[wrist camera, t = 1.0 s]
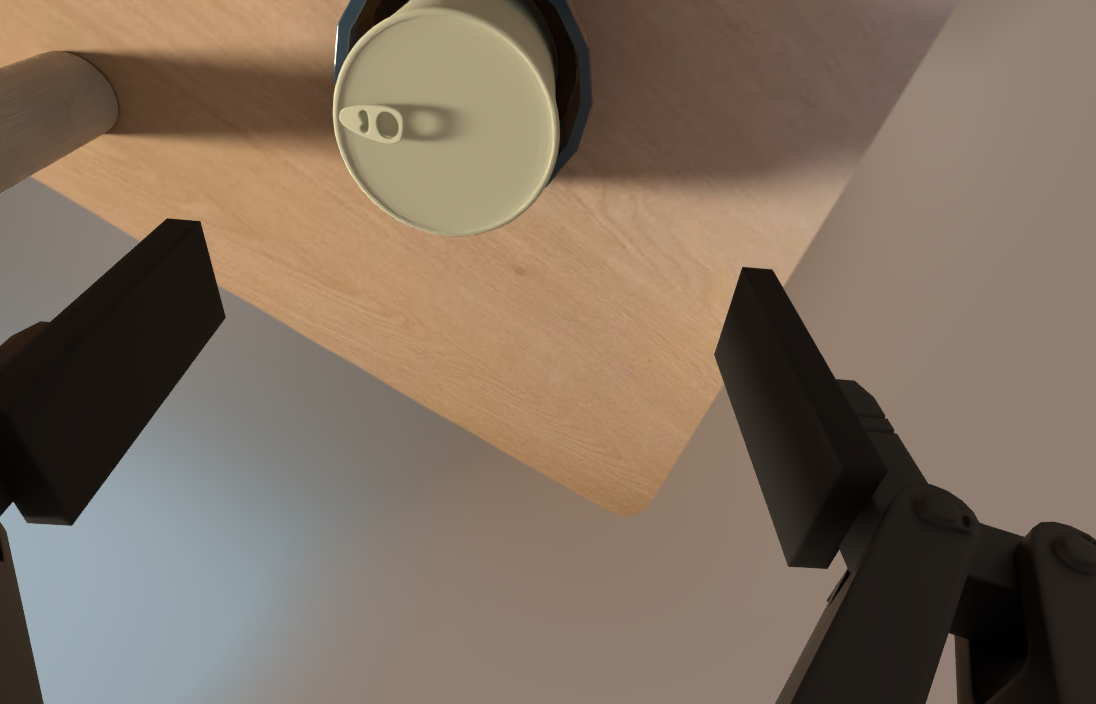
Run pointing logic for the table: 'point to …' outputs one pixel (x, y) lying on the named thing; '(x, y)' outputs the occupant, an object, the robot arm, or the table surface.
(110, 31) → the table surface
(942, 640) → the robot arm
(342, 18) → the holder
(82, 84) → the planter
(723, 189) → the table surface
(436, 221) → the can
